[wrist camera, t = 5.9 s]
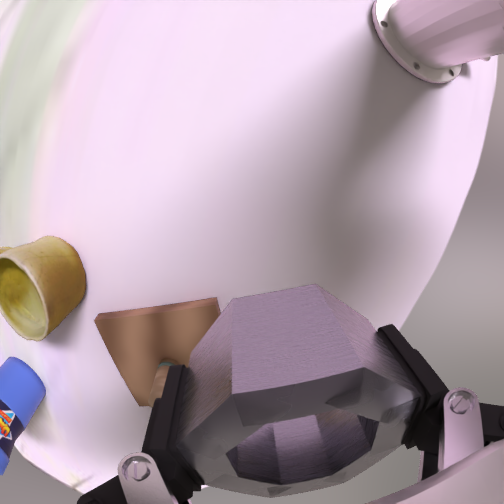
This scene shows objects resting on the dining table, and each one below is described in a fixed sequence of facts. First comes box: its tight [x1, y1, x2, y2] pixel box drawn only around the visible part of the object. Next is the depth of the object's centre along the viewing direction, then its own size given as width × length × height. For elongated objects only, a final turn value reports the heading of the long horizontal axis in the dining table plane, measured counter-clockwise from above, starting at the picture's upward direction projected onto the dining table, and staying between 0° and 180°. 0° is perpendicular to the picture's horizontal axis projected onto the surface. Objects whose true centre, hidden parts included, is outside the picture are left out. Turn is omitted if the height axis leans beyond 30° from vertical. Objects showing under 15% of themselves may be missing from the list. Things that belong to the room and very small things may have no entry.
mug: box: [0, 236, 86, 341], centre depth 22 cm, size 12×10×10 cm
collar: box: [175, 284, 422, 498], centre depth 9 cm, size 7×7×4 cm
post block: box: [94, 297, 221, 408], centre depth 27 cm, size 14×14×8 cm
